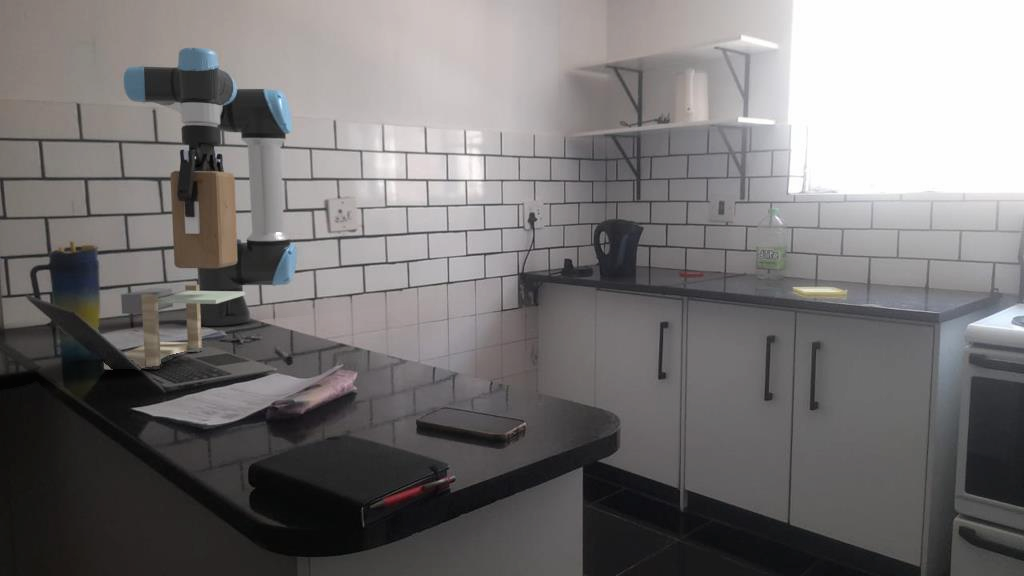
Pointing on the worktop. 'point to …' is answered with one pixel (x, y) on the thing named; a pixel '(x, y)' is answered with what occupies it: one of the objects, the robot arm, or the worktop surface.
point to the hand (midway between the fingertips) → (205, 232)
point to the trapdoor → (174, 298)
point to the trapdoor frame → (152, 345)
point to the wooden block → (206, 222)
